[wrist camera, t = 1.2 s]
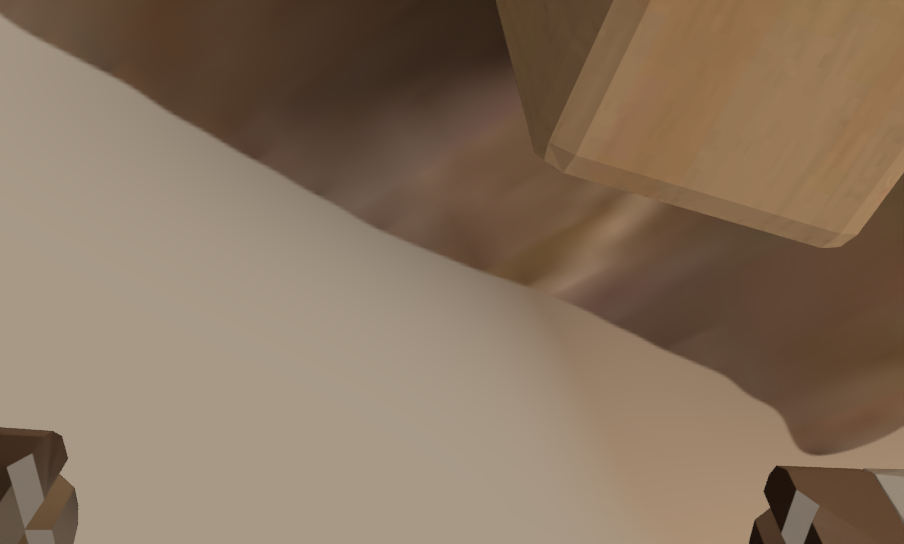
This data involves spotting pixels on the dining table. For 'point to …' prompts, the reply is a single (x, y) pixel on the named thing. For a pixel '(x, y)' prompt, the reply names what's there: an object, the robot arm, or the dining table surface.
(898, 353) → the dining table surface
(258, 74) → the dining table surface
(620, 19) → the wooden block
